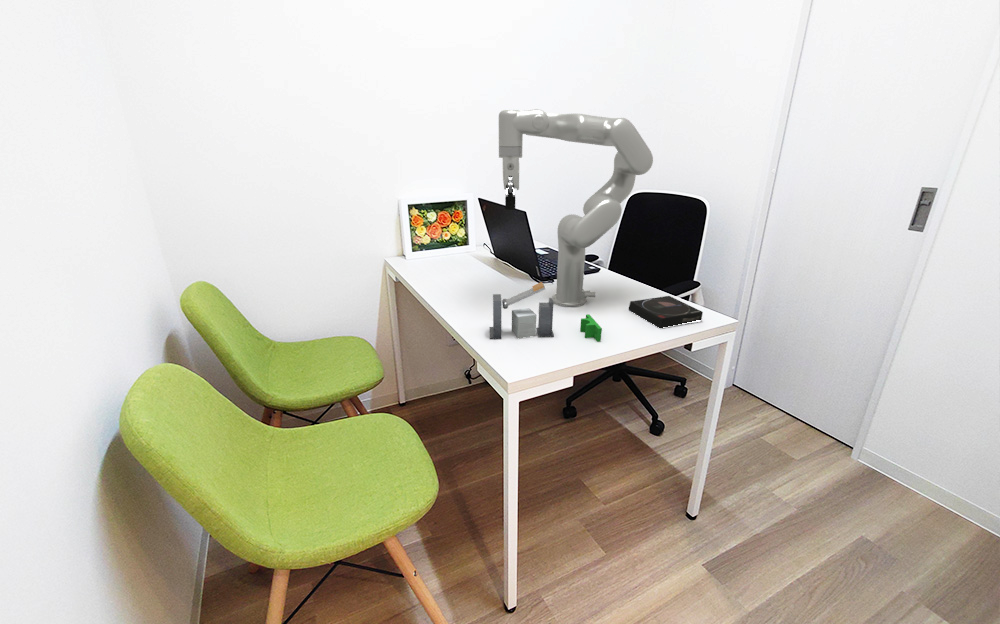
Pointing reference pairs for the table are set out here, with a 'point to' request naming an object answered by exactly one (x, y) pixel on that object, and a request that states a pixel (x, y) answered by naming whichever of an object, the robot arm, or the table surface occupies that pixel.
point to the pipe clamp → (590, 328)
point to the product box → (523, 322)
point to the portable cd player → (665, 311)
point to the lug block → (545, 319)
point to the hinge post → (496, 318)
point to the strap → (523, 295)
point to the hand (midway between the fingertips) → (510, 207)
